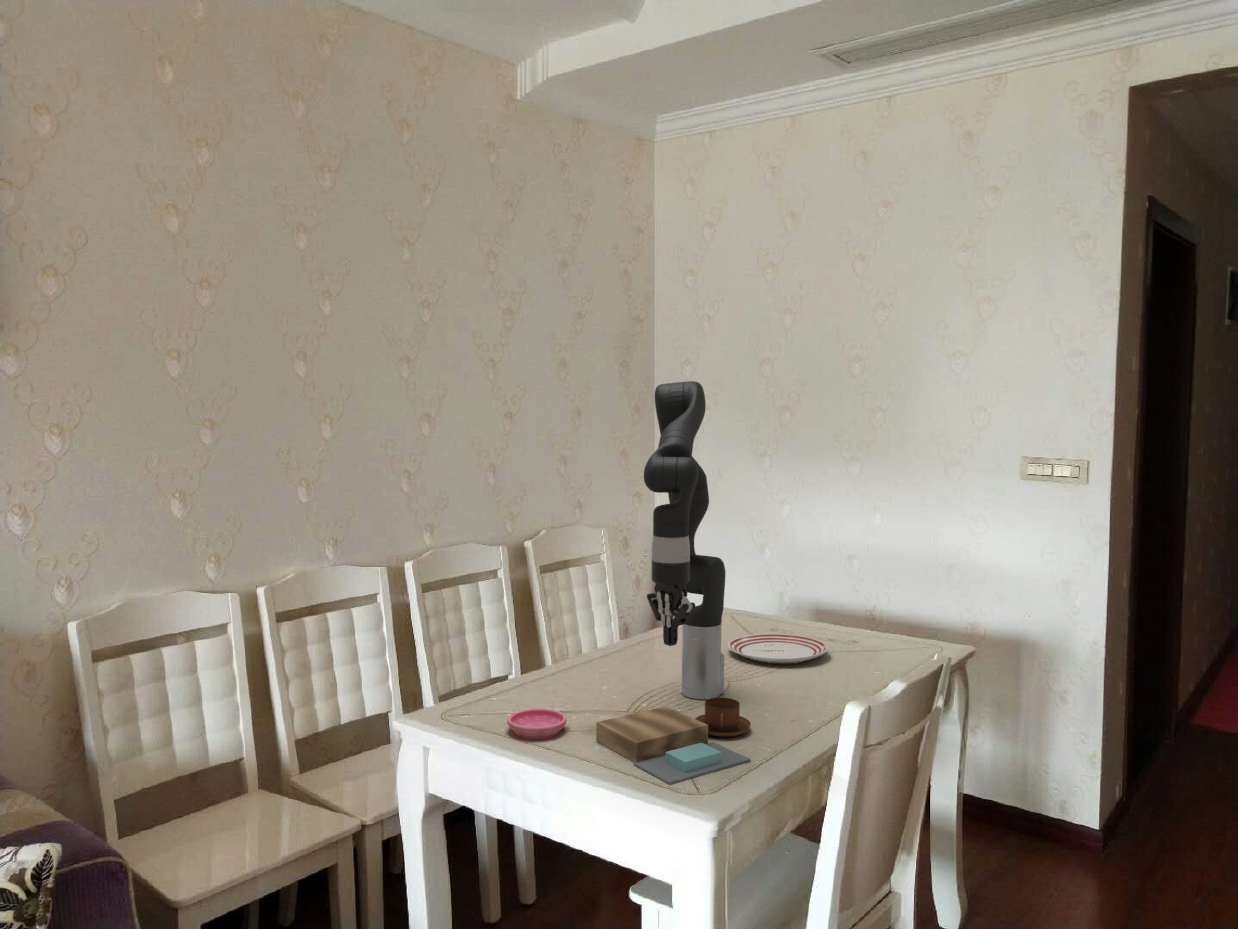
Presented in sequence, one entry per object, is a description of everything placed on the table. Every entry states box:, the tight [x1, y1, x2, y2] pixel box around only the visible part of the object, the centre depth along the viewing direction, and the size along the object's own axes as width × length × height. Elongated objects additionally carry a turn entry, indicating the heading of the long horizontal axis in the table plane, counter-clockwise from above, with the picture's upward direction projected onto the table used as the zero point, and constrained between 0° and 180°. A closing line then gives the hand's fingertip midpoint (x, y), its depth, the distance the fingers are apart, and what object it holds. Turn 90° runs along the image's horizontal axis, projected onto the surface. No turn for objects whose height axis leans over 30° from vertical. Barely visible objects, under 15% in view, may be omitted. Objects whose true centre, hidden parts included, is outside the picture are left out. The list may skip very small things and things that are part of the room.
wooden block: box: [595, 705, 709, 763], centre depth 191 cm, size 18×14×4 cm
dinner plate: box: [727, 633, 829, 664], centre depth 259 cm, size 28×27×3 cm
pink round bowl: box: [506, 708, 568, 740], centre depth 198 cm, size 12×12×3 cm
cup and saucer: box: [694, 697, 751, 738], centre depth 199 cm, size 12×12×6 cm
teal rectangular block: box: [665, 743, 722, 772], centre depth 180 cm, size 9×6×2 cm, turn 125°
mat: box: [633, 741, 751, 785], centre depth 181 cm, size 20×11×1 cm, turn 125°
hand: (670, 644), depth 186 cm, fingers closed
